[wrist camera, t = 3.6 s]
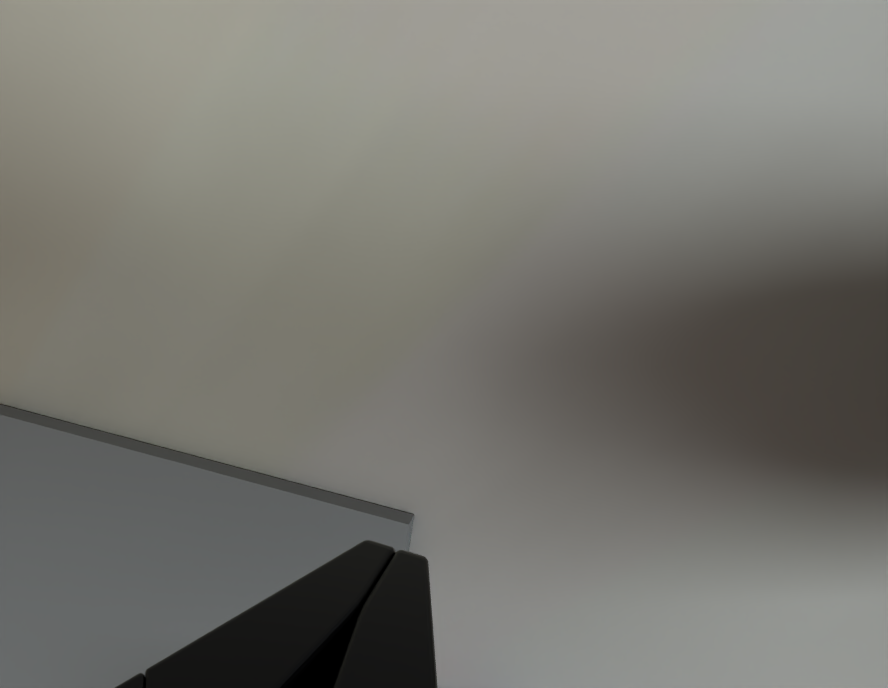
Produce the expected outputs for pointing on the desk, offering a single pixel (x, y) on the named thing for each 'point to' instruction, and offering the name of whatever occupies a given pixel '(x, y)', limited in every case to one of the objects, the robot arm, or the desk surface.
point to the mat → (145, 548)
